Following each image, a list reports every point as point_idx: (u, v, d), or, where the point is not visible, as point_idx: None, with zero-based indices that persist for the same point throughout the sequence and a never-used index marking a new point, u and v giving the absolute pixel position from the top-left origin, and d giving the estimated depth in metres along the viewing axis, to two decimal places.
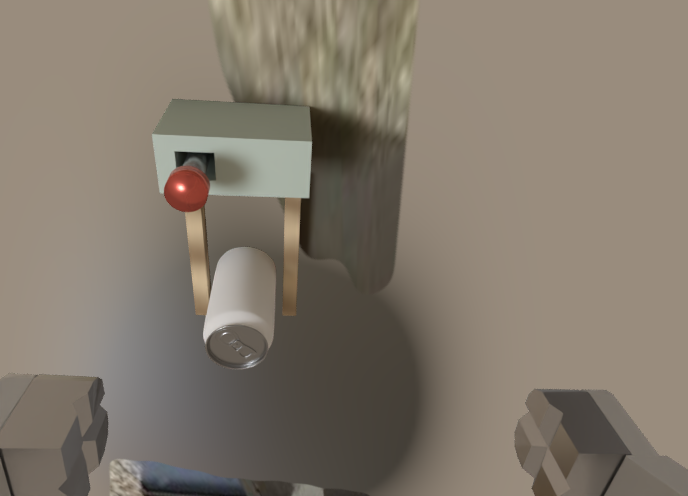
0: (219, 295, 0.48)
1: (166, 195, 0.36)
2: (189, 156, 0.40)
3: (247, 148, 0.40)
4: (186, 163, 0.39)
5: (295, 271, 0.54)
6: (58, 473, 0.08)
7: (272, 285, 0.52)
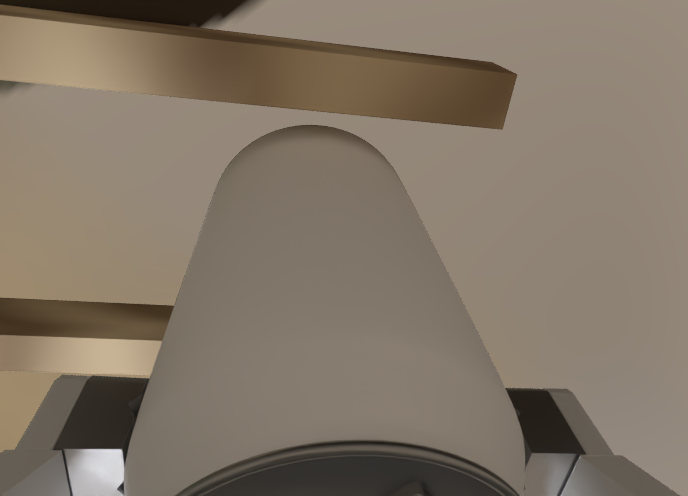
0: None
1: None
2: None
3: None
4: None
5: (280, 59, 0.13)
6: (118, 473, 0.08)
7: (265, 182, 0.12)
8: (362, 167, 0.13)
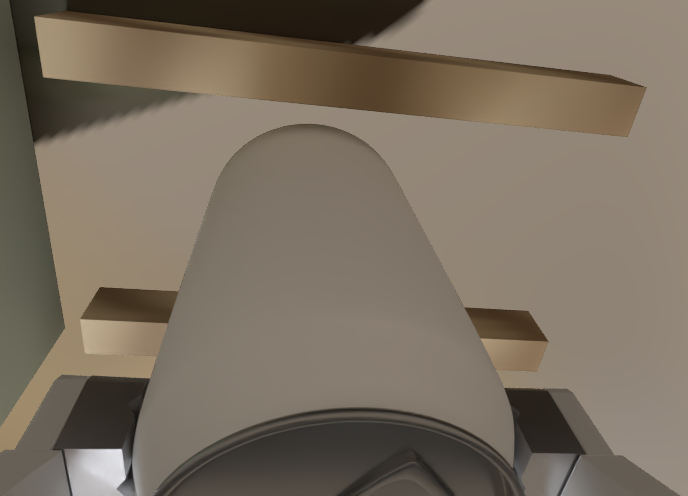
0: None
1: None
2: None
3: None
4: None
5: (438, 74, 0.14)
6: (117, 474, 0.08)
7: (264, 178, 0.12)
8: (357, 164, 0.13)
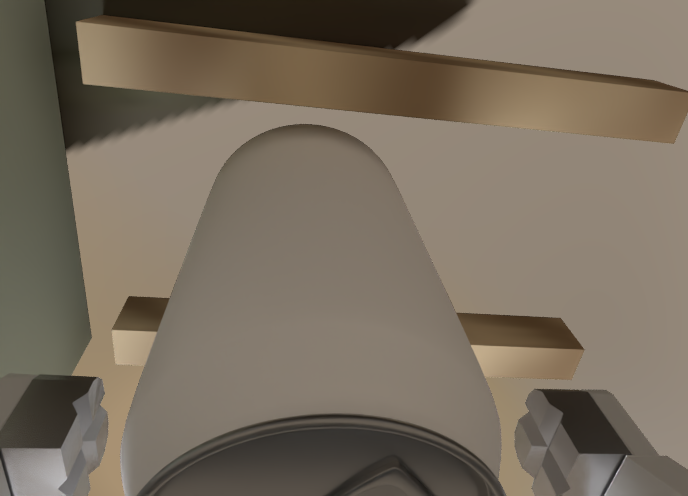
0: None
1: None
2: None
3: None
4: None
5: (486, 80, 0.14)
6: (58, 473, 0.08)
7: (259, 179, 0.12)
8: (353, 165, 0.13)
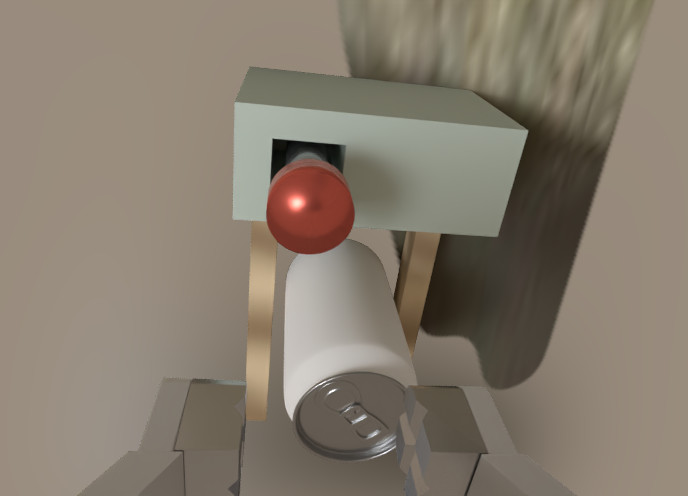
0: (313, 315, 0.25)
1: (270, 217, 0.17)
2: (298, 150, 0.21)
3: (409, 139, 0.21)
4: (298, 160, 0.20)
5: None
6: (231, 474, 0.08)
7: (394, 303, 0.29)
8: None
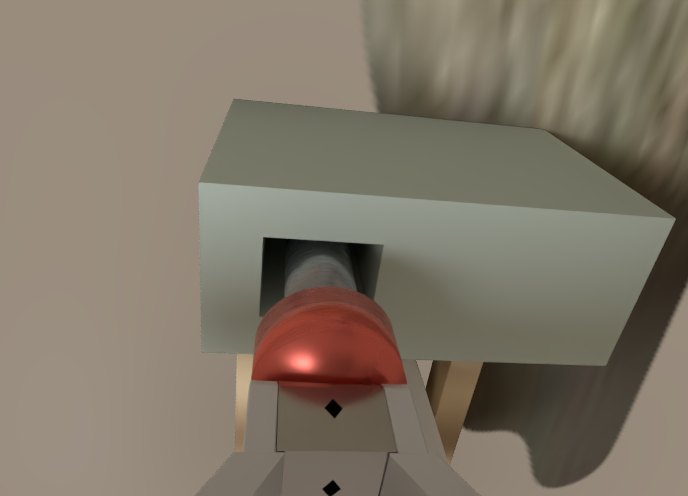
0: None
1: None
2: (304, 244, 0.13)
3: (485, 234, 0.13)
4: (306, 268, 0.12)
5: None
6: (328, 474, 0.08)
7: (435, 423, 0.21)
8: None
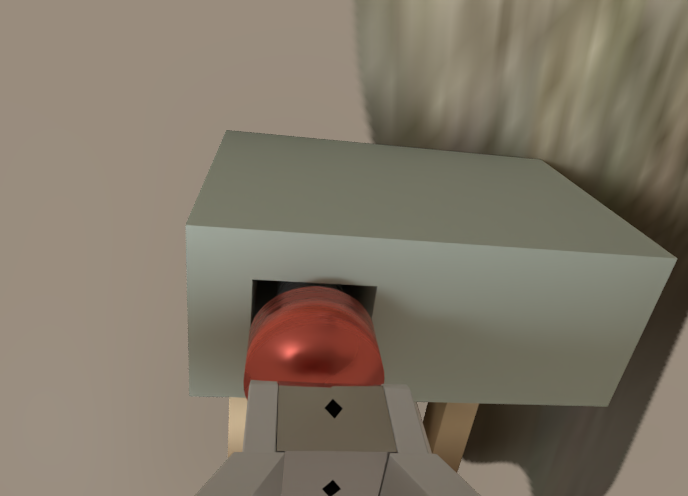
0: None
1: None
2: None
3: (482, 275, 0.13)
4: None
5: None
6: (327, 474, 0.08)
7: None
8: None
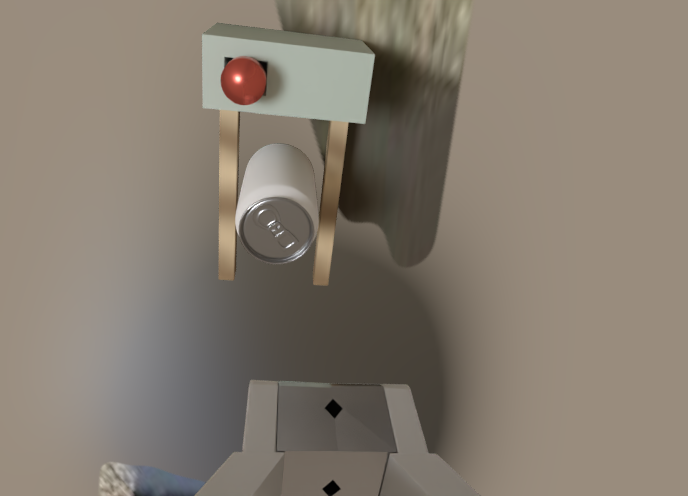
0: (255, 176, 0.40)
1: (222, 83, 0.34)
2: None
3: (304, 58, 0.36)
4: None
5: (331, 230, 0.50)
6: (327, 474, 0.08)
7: (313, 181, 0.44)
8: None
